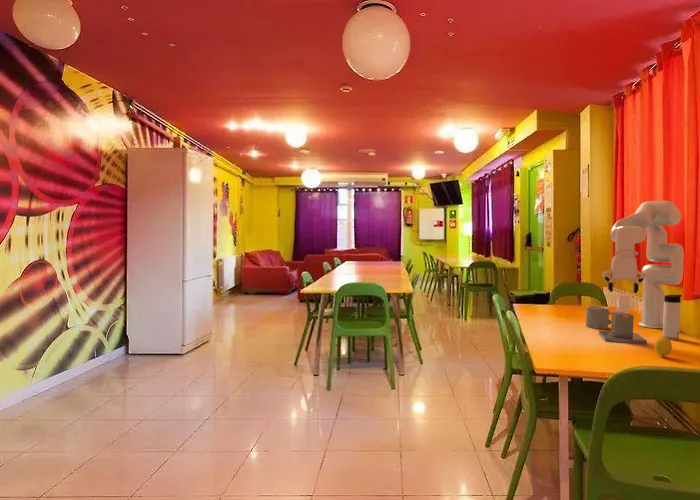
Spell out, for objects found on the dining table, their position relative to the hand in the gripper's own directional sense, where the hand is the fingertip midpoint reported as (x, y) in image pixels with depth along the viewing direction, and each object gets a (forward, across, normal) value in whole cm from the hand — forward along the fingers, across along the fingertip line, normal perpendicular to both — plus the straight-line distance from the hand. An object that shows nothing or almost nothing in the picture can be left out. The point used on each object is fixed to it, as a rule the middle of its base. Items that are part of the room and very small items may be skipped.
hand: (622, 292), depth 220 cm
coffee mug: (+21, +4, -27) cm, 34 cm away
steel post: (+19, 0, -1) cm, 19 cm away
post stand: (+21, 0, -1) cm, 21 cm away
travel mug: (+21, -22, -10) cm, 32 cm away
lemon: (+22, -8, +29) cm, 37 cm away
